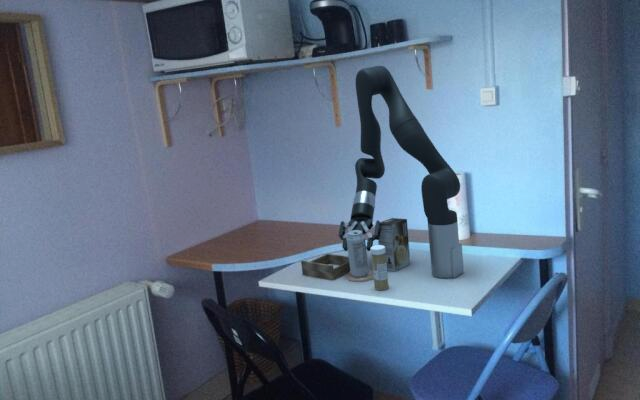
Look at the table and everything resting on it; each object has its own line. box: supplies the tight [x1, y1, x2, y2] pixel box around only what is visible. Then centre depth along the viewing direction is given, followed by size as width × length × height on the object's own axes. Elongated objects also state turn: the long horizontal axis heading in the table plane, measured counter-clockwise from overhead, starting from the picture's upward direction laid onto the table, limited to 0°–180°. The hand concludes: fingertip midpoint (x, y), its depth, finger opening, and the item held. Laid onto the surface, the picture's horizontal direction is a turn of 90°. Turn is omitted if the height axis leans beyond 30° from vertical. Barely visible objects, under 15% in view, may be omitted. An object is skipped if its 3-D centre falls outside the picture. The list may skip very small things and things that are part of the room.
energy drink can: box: [346, 230, 370, 278], centre depth 182 cm, size 6×6×15 cm
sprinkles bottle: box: [370, 244, 390, 291], centre depth 171 cm, size 5×5×13 cm
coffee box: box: [377, 217, 411, 272], centre depth 189 cm, size 9×6×16 cm
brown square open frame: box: [300, 253, 350, 281], centre depth 194 cm, size 14×14×5 cm
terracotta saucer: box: [345, 269, 374, 283], centre depth 185 cm, size 10×10×1 cm
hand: (356, 250), depth 182 cm, fingers open, 7 cm apart
